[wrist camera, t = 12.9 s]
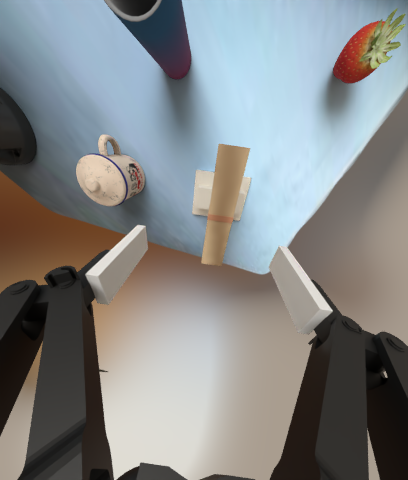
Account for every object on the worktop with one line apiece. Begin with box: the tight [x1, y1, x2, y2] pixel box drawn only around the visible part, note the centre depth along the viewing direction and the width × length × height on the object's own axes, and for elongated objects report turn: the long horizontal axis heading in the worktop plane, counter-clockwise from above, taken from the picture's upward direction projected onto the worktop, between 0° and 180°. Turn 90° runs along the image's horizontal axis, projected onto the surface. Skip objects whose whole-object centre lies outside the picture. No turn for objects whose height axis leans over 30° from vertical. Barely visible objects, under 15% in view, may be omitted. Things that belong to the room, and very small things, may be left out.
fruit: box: [333, 8, 406, 83], centre depth 20 cm, size 5×5×8 cm
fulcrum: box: [192, 170, 251, 221], centre depth 32 cm, size 12×10×7 cm
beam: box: [201, 144, 250, 266], centre depth 26 cm, size 4×20×6 cm, turn 173°
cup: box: [104, 0, 191, 79], centre depth 17 cm, size 7×7×15 cm
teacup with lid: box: [76, 135, 145, 206], centre depth 28 cm, size 12×9×12 cm
